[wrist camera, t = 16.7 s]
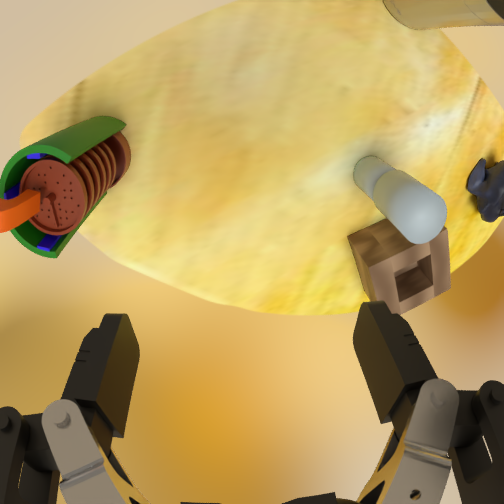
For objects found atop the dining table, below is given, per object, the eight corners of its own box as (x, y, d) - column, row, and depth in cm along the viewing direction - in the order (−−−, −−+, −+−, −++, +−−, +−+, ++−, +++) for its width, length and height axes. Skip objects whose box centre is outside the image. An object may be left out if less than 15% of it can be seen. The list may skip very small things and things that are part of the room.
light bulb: (381, 148, 37) (443, 185, 25) (391, 183, 40) (449, 231, 28) (345, 162, 38) (397, 206, 26) (357, 198, 41) (406, 252, 29)
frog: (457, 212, 43) (483, 232, 37) (472, 147, 37) (502, 162, 31) (490, 214, 44) (515, 233, 38) (505, 156, 38) (533, 170, 32)
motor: (129, 195, 38) (66, 293, 21) (69, 191, 36) (-16, 277, 19) (133, 116, 33) (49, 160, 16) (68, 116, 31) (-40, 162, 14)
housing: (417, 203, 42) (447, 228, 35) (426, 259, 47) (450, 288, 40) (347, 236, 43) (368, 267, 37) (364, 289, 49) (382, 323, 42)
